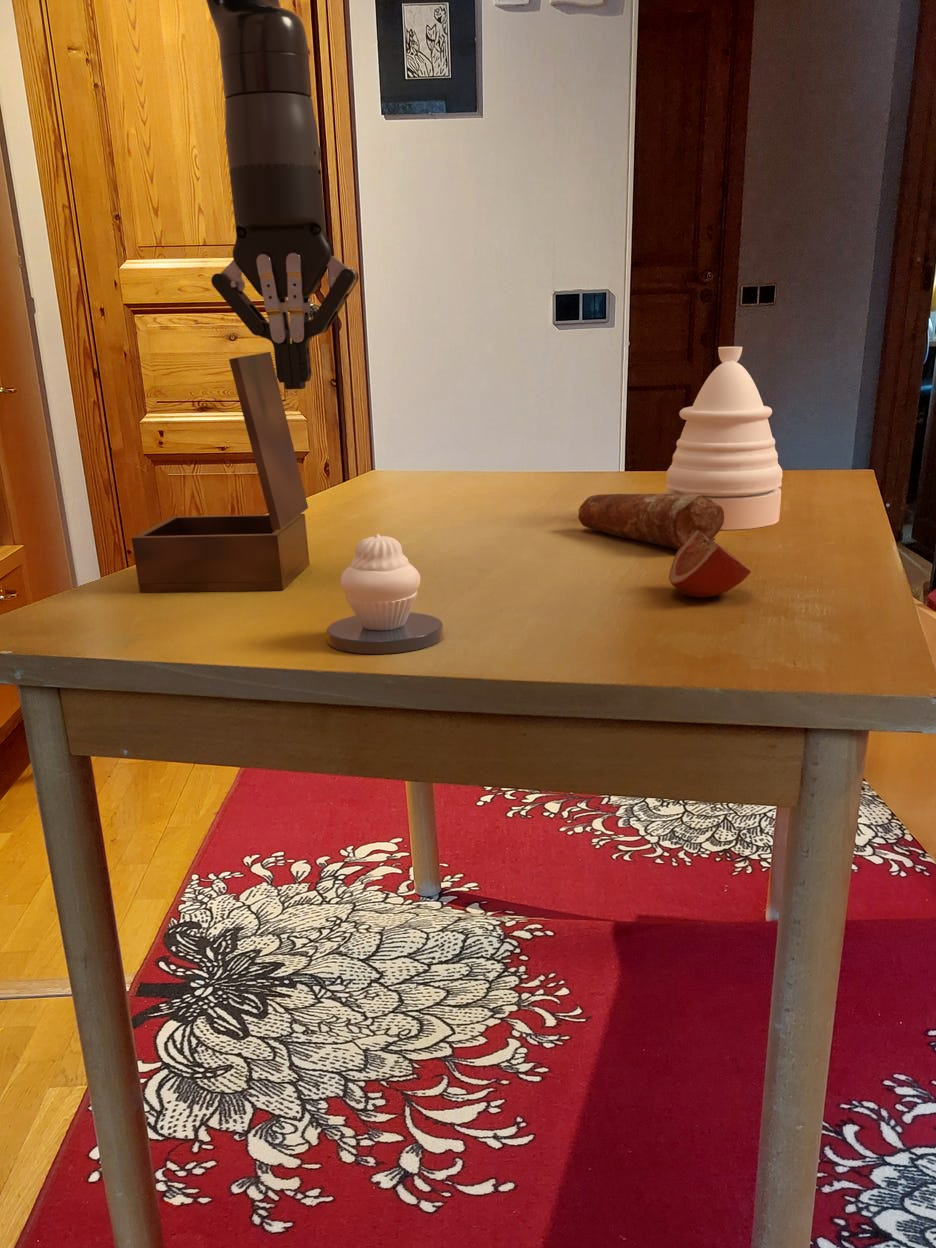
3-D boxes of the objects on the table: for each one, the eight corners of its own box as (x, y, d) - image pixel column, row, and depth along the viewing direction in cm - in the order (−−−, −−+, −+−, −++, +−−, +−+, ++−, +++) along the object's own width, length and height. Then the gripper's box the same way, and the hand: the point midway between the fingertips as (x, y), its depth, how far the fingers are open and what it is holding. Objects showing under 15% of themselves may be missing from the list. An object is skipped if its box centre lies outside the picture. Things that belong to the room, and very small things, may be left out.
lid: (228, 359, 99) (237, 357, 99) (262, 353, 110) (270, 351, 110) (272, 530, 105) (281, 529, 105) (300, 509, 116) (308, 508, 116)
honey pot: (665, 510, 140) (671, 347, 132) (775, 509, 138) (787, 343, 130) (663, 530, 129) (669, 352, 121) (783, 529, 127) (797, 348, 119)
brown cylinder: (679, 557, 115) (682, 499, 113) (569, 531, 130) (568, 479, 128) (728, 549, 118) (731, 491, 115) (614, 524, 133) (615, 473, 130)
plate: (316, 655, 87) (315, 641, 87) (339, 624, 95) (338, 612, 95) (436, 653, 87) (435, 640, 86) (449, 623, 95) (448, 610, 94)
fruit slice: (660, 586, 104) (662, 528, 102) (735, 583, 104) (738, 525, 102) (677, 608, 97) (680, 547, 94) (758, 605, 97) (763, 543, 95)
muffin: (439, 622, 91) (435, 530, 88) (386, 640, 87) (379, 544, 84) (381, 612, 95) (375, 523, 92) (327, 628, 90) (318, 536, 87)
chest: (139, 592, 109) (131, 537, 107) (178, 566, 119) (171, 516, 117) (283, 590, 108) (277, 535, 105) (309, 564, 118) (305, 513, 116)
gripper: (182, 163, 94) (211, 394, 101) (344, 155, 93) (361, 389, 100) (209, 171, 101) (234, 388, 108) (361, 164, 99) (376, 383, 107)
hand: (295, 388), depth 104 cm, fingers closed
